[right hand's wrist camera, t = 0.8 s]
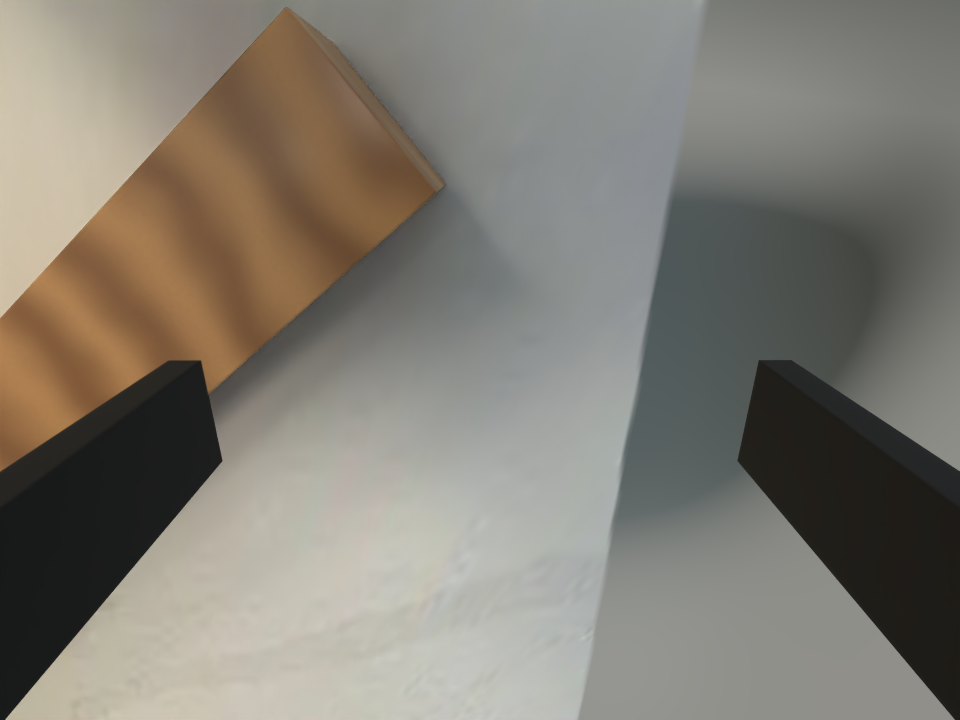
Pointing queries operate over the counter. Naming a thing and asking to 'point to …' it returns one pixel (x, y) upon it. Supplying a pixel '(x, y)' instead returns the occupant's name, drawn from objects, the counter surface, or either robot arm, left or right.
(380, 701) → the counter surface
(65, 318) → the wooden beam
